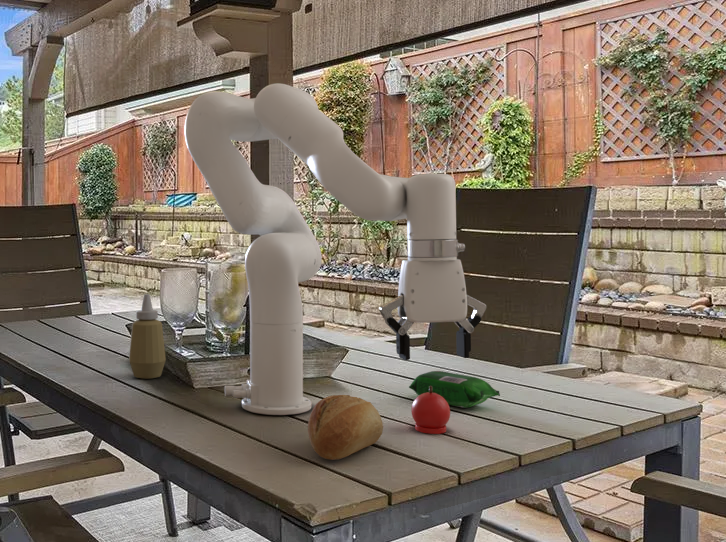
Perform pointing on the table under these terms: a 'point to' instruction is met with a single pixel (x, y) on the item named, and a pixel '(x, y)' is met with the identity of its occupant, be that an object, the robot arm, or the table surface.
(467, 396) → the snack package
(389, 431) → the table surface
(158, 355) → the squeeze bottle
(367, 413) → the bread roll
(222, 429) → the table surface
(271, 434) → the table surface
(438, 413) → the candle
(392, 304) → the robot arm
